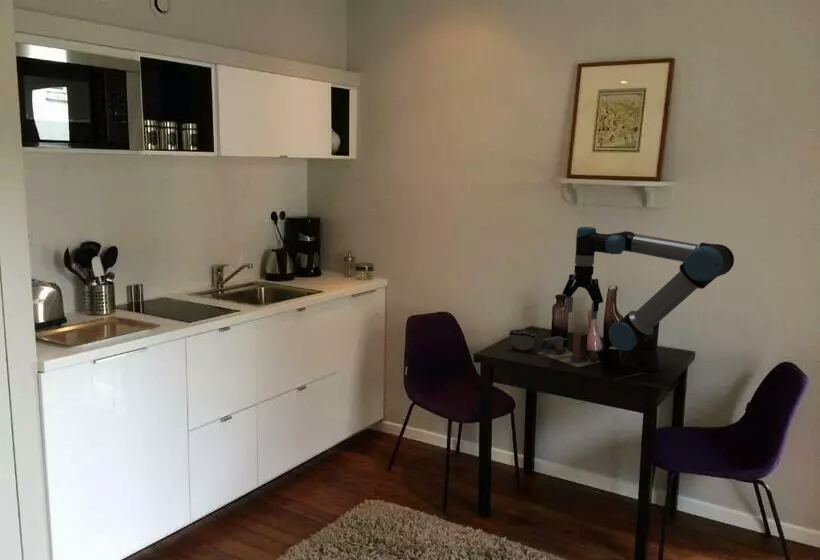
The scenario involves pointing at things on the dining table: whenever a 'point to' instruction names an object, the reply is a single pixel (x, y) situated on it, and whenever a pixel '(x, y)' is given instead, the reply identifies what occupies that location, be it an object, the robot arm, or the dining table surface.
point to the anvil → (551, 345)
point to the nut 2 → (593, 356)
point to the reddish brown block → (579, 347)
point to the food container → (522, 341)
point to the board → (566, 359)
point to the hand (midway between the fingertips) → (581, 315)
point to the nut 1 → (559, 348)
